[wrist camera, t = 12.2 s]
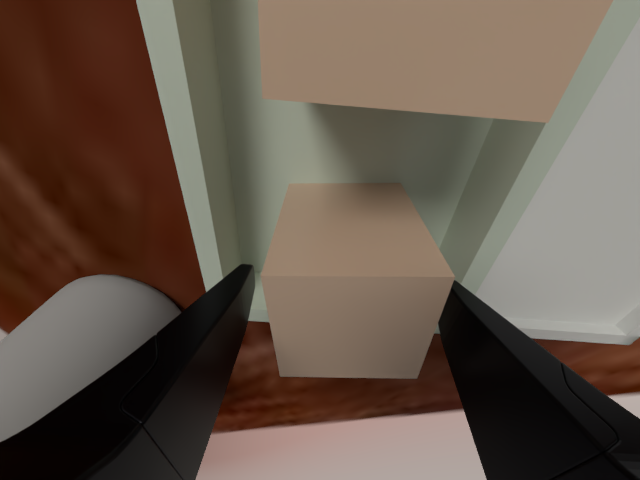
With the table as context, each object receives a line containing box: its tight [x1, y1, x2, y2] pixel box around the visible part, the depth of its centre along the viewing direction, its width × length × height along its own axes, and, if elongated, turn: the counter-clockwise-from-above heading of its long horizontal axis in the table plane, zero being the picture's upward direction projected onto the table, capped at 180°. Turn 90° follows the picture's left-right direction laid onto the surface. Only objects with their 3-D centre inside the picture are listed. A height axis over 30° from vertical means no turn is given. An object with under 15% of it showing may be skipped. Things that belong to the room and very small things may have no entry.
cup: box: [0, 274, 181, 442], centre depth 14 cm, size 7×10×9 cm
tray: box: [475, 18, 640, 345], centre depth 11 cm, size 11×16×1 cm
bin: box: [136, 0, 640, 334], centre depth 9 cm, size 11×16×3 cm
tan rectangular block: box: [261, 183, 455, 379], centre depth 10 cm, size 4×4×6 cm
